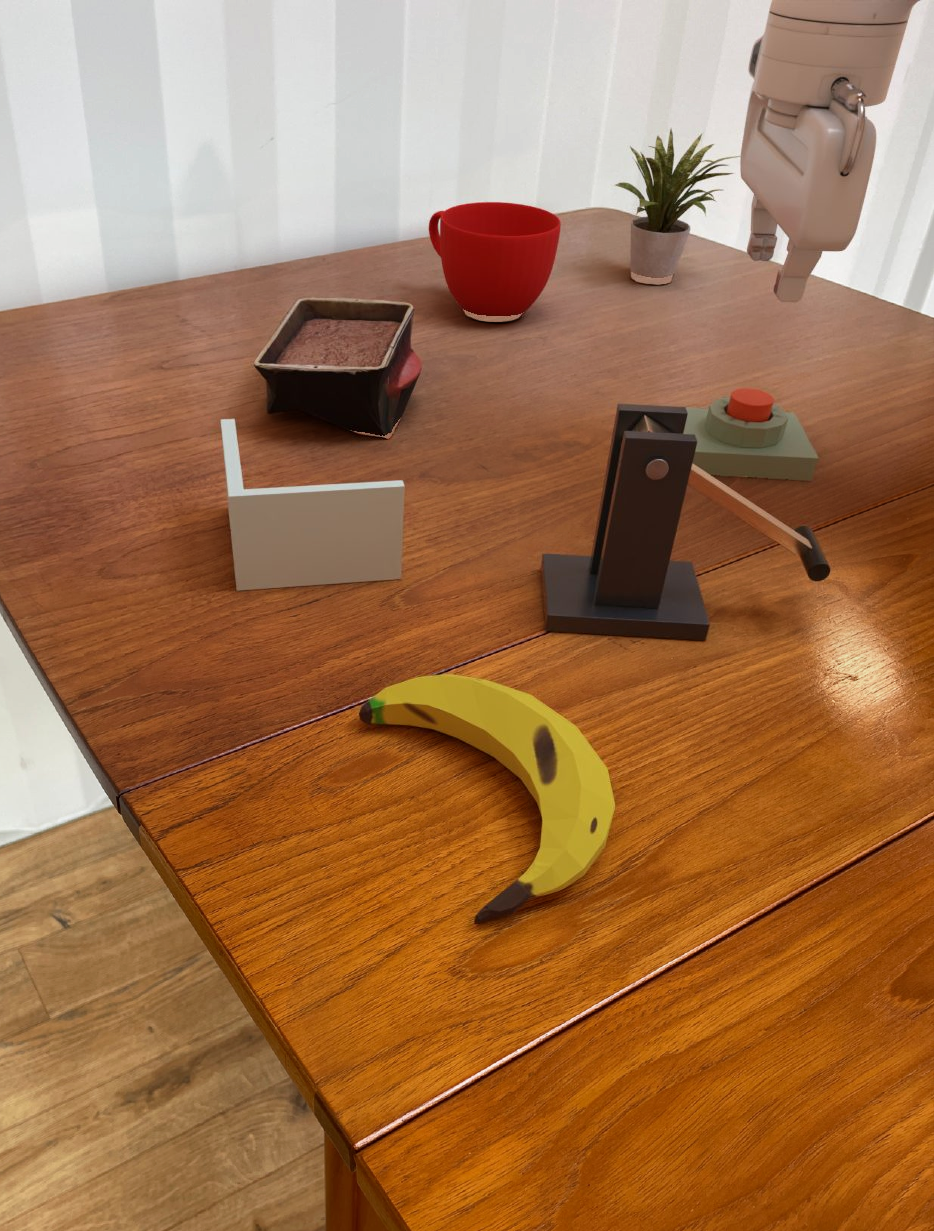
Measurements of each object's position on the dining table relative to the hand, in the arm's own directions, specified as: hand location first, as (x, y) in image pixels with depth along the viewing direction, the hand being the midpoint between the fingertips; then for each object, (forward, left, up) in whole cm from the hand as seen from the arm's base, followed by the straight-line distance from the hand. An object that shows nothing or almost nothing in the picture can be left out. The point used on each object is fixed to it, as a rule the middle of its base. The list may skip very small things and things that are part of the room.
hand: (771, 277), depth 80 cm
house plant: (0, -50, -17) cm, 52 cm away
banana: (+22, +42, -17) cm, 50 cm away
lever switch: (+6, +21, -9) cm, 24 cm away
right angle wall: (+34, +15, -17) cm, 41 cm away
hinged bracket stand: (+11, +21, -16) cm, 29 cm away
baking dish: (+34, -10, -17) cm, 39 cm away
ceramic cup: (+21, -38, -17) cm, 46 cm away
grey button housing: (-2, -4, -16) cm, 17 cm away
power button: (-2, -4, -13) cm, 13 cm away
